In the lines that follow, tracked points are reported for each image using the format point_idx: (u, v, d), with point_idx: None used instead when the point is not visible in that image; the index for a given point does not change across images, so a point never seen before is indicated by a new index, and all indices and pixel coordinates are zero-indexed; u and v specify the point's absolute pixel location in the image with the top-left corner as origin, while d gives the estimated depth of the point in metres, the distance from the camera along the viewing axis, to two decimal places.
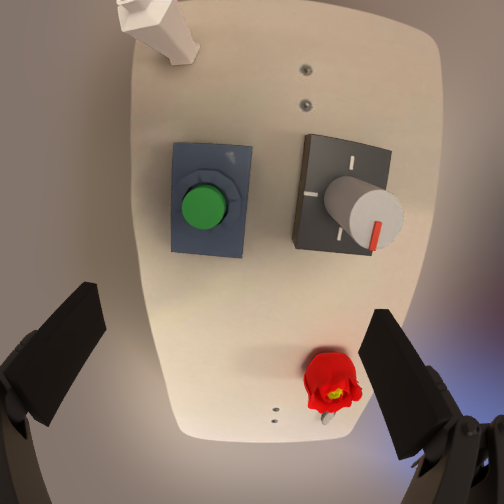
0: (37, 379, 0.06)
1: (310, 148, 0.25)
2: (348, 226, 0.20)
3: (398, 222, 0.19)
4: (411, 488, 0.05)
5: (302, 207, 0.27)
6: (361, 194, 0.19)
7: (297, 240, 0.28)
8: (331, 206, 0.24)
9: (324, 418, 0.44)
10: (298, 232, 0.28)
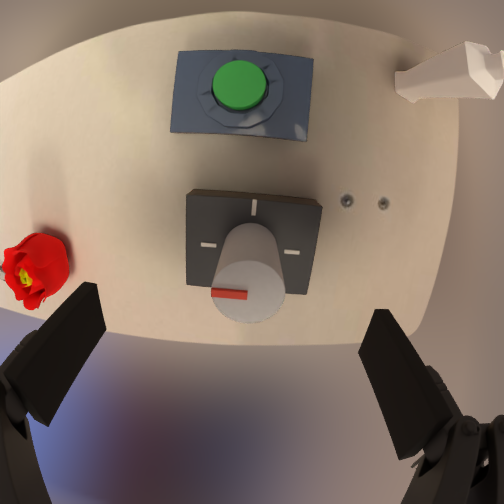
0: (38, 380, 0.06)
1: (306, 205, 0.23)
2: (237, 259, 0.17)
3: (247, 318, 0.18)
4: (410, 488, 0.05)
5: (237, 198, 0.23)
6: (277, 272, 0.17)
7: (196, 195, 0.23)
8: (246, 233, 0.21)
9: None
10: (206, 196, 0.23)
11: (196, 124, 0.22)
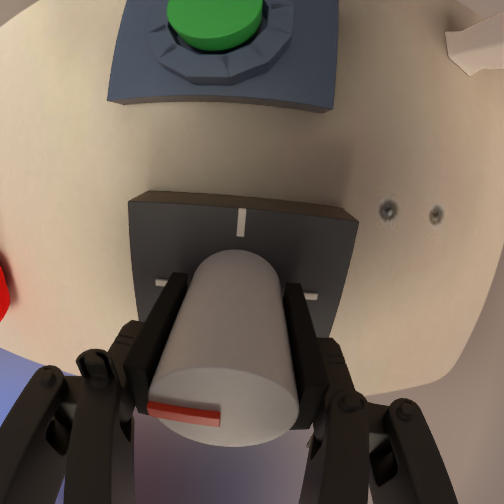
0: (155, 368, 0.08)
1: (332, 219, 0.13)
2: (192, 359, 0.07)
3: (224, 441, 0.08)
4: (306, 473, 0.06)
5: (211, 207, 0.13)
6: (285, 384, 0.07)
7: (143, 202, 0.13)
8: (224, 275, 0.11)
9: None
10: (159, 203, 0.13)
11: (146, 84, 0.11)
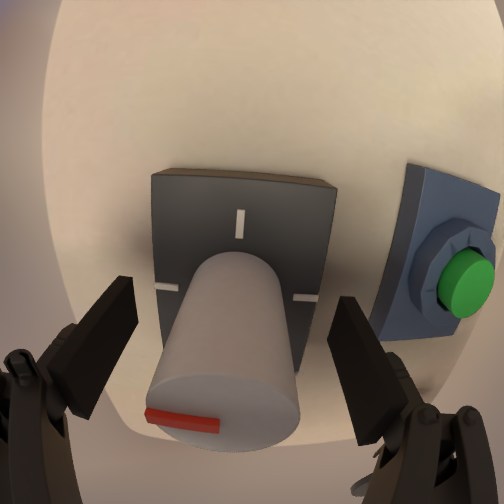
0: (81, 372, 0.07)
1: (301, 356, 0.16)
2: (190, 366, 0.07)
3: (224, 447, 0.08)
4: (373, 480, 0.06)
5: (321, 272, 0.14)
6: (285, 391, 0.07)
7: (333, 206, 0.13)
8: (223, 278, 0.11)
9: None
10: (330, 223, 0.13)
11: (427, 209, 0.13)
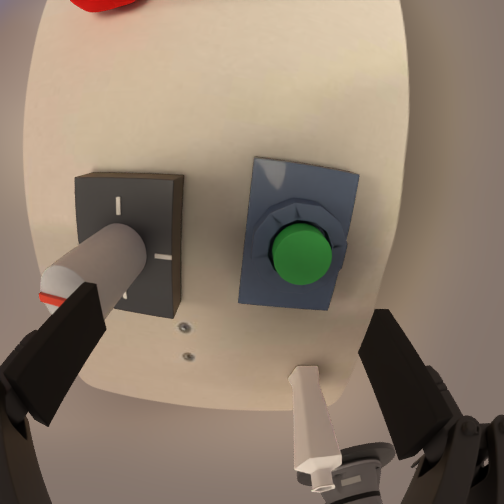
0: (37, 380, 0.06)
1: (171, 305, 0.22)
2: (53, 264, 0.13)
3: None
4: (411, 488, 0.05)
5: (171, 238, 0.20)
6: (86, 280, 0.13)
7: (172, 192, 0.19)
8: (96, 235, 0.17)
9: None
10: (172, 204, 0.19)
11: (260, 191, 0.20)
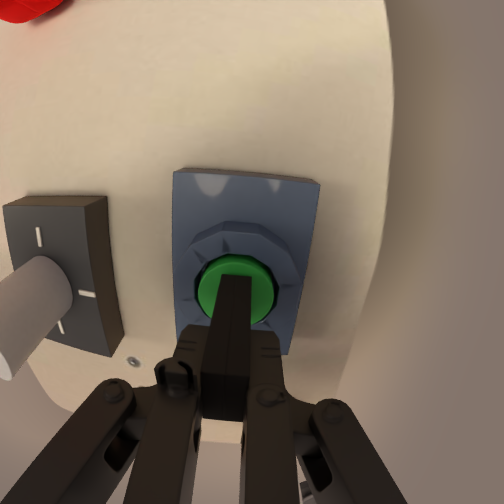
0: None
1: (106, 344, 0.18)
2: None
3: None
4: (241, 470, 0.06)
5: (91, 273, 0.16)
6: None
7: (84, 221, 0.14)
8: (14, 272, 0.12)
9: None
10: (86, 234, 0.15)
11: (184, 214, 0.15)
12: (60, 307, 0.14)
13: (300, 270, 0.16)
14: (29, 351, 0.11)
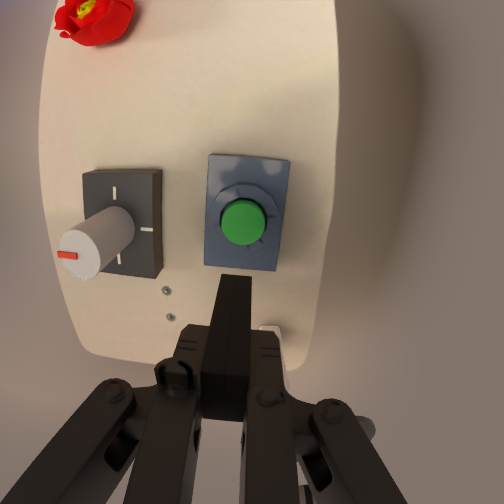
0: None
1: (154, 267, 0.29)
2: None
3: (82, 275, 0.21)
4: (241, 470, 0.06)
5: (152, 215, 0.27)
6: (91, 238, 0.20)
7: (152, 182, 0.26)
8: (99, 213, 0.24)
9: None
10: (152, 190, 0.26)
11: (214, 178, 0.26)
12: (128, 237, 0.26)
13: (280, 211, 0.28)
14: (110, 259, 0.23)
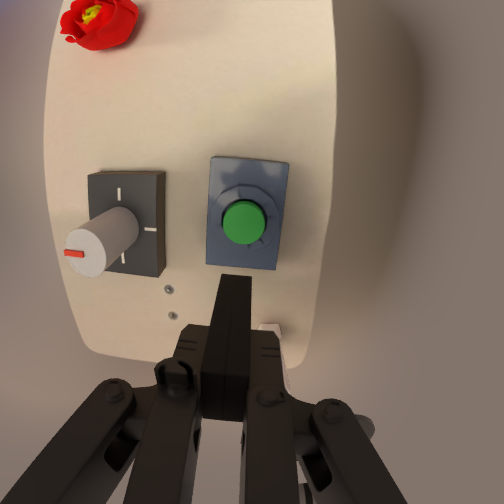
0: None
1: (157, 266, 0.30)
2: (76, 228, 0.21)
3: (88, 273, 0.22)
4: (241, 471, 0.06)
5: (155, 215, 0.28)
6: (98, 237, 0.21)
7: (156, 183, 0.27)
8: (104, 213, 0.25)
9: None
10: (156, 191, 0.27)
11: (216, 180, 0.28)
12: (133, 236, 0.27)
13: (280, 211, 0.29)
14: (115, 257, 0.24)
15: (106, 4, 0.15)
